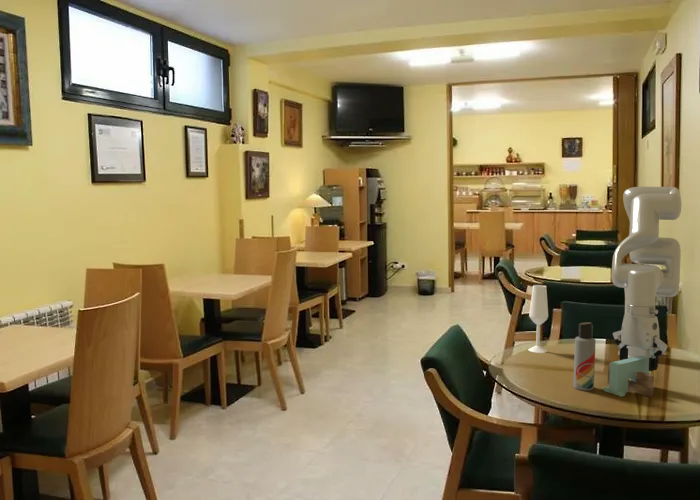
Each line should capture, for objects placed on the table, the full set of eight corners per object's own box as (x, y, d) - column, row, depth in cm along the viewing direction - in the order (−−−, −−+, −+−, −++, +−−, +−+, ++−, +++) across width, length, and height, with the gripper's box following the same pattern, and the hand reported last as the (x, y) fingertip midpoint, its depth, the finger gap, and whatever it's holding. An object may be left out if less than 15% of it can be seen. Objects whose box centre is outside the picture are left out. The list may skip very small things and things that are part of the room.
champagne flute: (531, 347, 233) (533, 284, 230) (549, 349, 229) (551, 285, 226) (525, 351, 227) (527, 286, 225) (543, 353, 223) (545, 288, 221)
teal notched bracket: (636, 382, 191) (637, 354, 190) (654, 388, 185) (655, 358, 184) (603, 390, 183) (605, 361, 182) (621, 396, 178) (623, 366, 177)
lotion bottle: (591, 392, 182) (594, 325, 180) (571, 388, 185) (573, 323, 183) (595, 386, 187) (597, 321, 185) (575, 383, 190) (578, 319, 188)
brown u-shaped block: (607, 383, 190) (608, 364, 189) (610, 382, 191) (611, 363, 190) (649, 396, 178) (650, 376, 177) (652, 395, 179) (653, 375, 178)
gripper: (675, 314, 178) (672, 371, 181) (622, 303, 193) (620, 356, 195) (660, 317, 174) (657, 376, 177) (607, 306, 189) (605, 360, 192)
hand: (637, 365), depth 186 cm, fingers open, 9 cm apart
